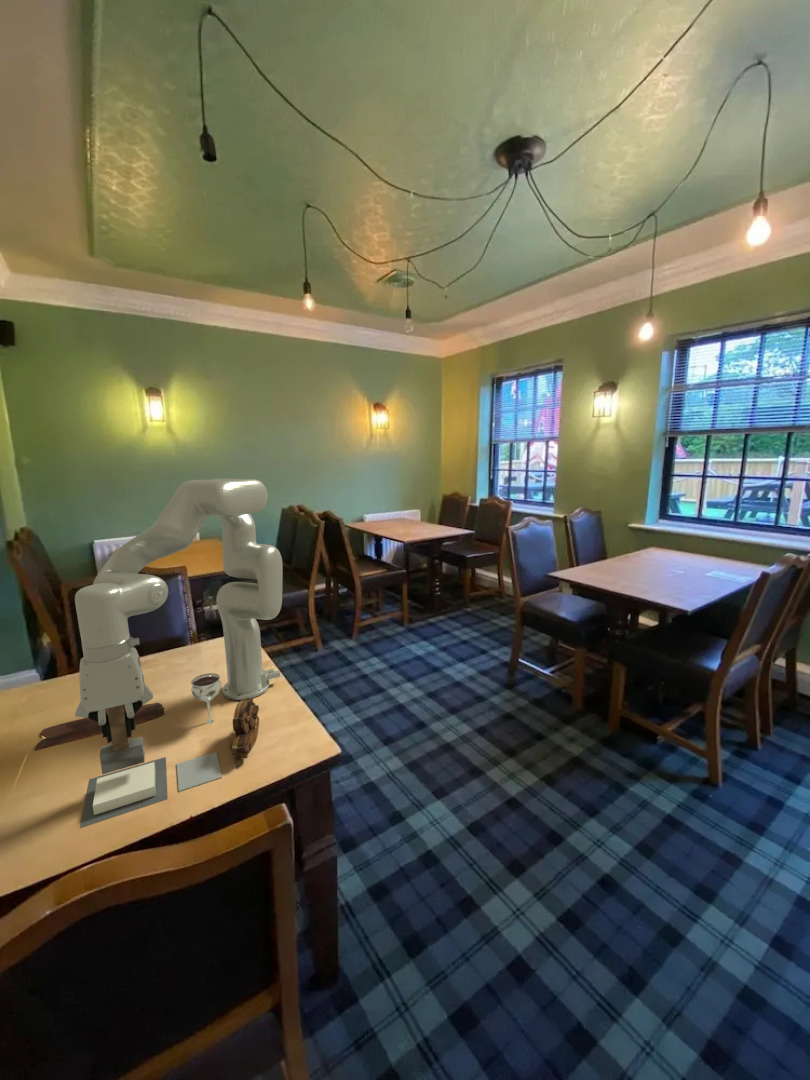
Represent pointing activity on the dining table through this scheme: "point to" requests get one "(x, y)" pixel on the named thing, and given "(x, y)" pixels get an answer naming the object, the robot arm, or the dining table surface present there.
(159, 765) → the rubber mat
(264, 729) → the dining table surface
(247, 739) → the wooden carving
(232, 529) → the robot arm
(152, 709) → the wooden tablet
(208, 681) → the wineglass
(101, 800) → the tile
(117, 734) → the brown grey t-shaped piece
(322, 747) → the dining table surface
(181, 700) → the dining table surface
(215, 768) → the pad
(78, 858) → the dining table surface
